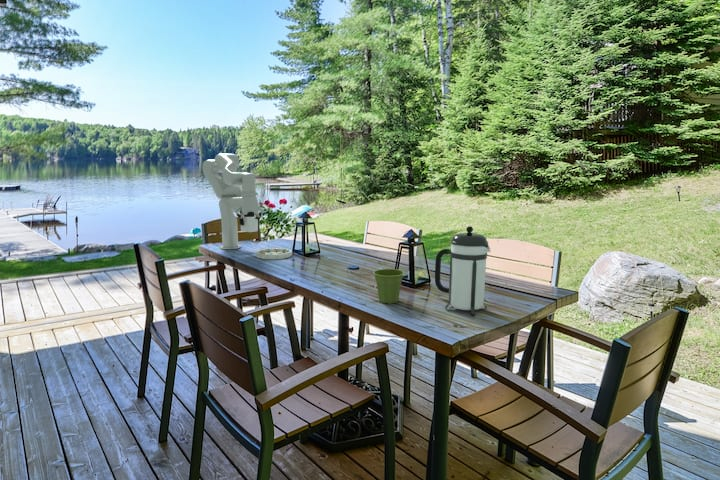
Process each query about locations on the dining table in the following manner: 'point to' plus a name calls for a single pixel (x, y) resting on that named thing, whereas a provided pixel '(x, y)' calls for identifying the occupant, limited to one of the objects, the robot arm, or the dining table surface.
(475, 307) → the coffee press
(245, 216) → the medicine bottle
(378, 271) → the plant pot
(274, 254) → the tray
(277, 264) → the dining table surface
